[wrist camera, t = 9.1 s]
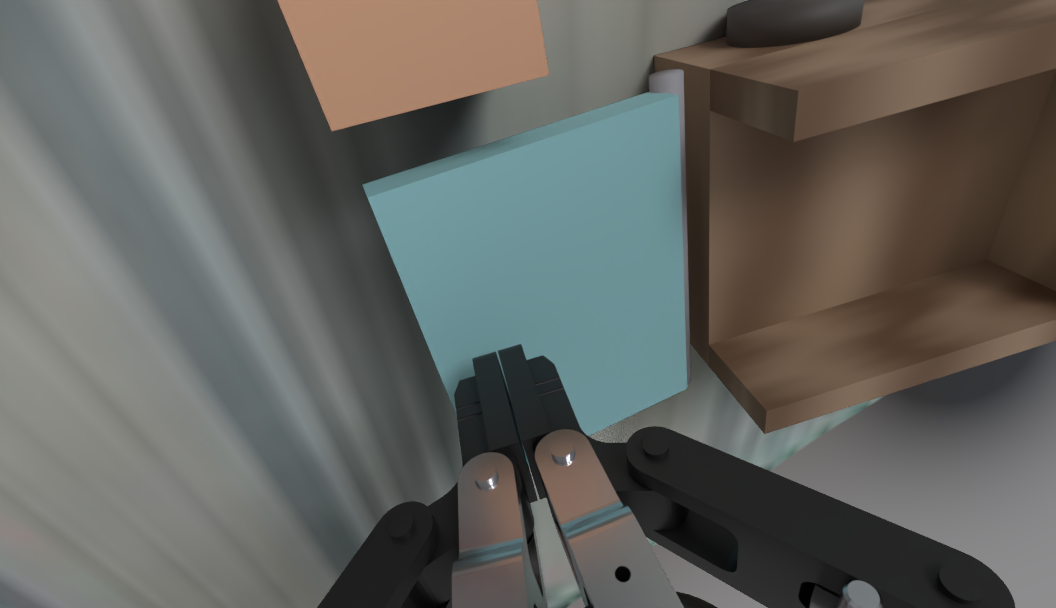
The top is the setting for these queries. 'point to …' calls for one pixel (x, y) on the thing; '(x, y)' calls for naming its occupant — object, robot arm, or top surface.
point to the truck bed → (868, 195)
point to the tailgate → (557, 252)
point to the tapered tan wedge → (412, 52)
